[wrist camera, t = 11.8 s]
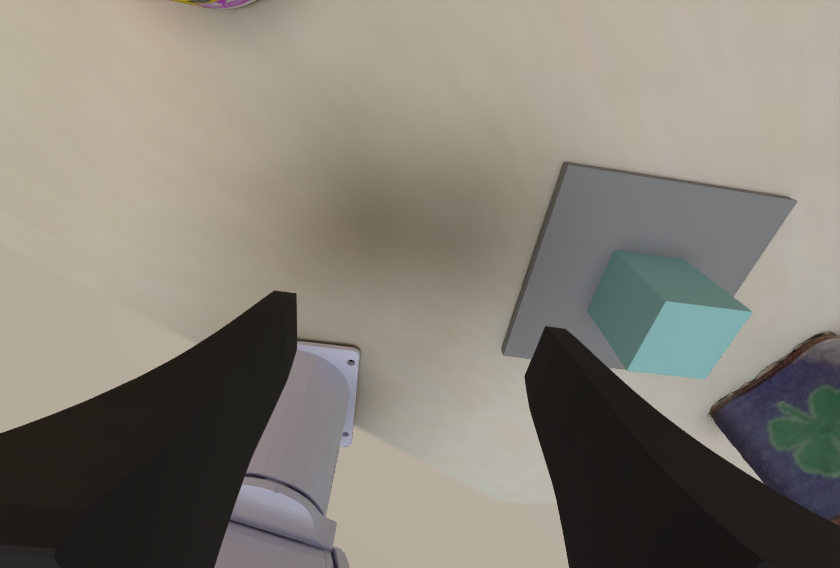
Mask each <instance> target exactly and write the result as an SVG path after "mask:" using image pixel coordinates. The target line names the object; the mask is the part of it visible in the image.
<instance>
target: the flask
mask: <svg viewBox="0 0 840 568" xmlns="http://www.w3.org/2000/svg"><path fill="white" fill-rule="evenodd" d="M794 349H795V350H796V351H795V352H792V353H791V354H789V355H787V356H786V357H784V358H783V359H780V360H779V361H778V362H775V363H773V364H772V365H770V366H768V367H766V368H765V370H763V371H761V372H760V374H759V375H758V376H757V378H756V379H755V380H754V381H753V382H750V383H744V385H743V386H742V387H741V389H739V390H738V391H736V392H733V393H729V395H728V396H727V397H726V398H725V399H722V400H721V401H719V402H716V403H714V404H713V406H712V408H711V410H710V413H709V414H708V415H712V417H713V419H714V421H715V423H716V425H717V426H718V427H719V428H720V430H721V431H722V432H723V433H724V434H725V436H726V437H727V438H728V440H729V441H730V442H731V444H732V445H733V446H734V447H735V448H736V449H737V450H738V451H739V453H740V454H741V456H742V457H743V459H744V460H745V461H746V462H747V463H748V464H749V465H750V467H751V468H752V469H753V470H754V471H755V473H756V474H757V475H758V476H759V477H760V479H761V480H762V482H763V483H764V484H765V485H766V486H768V487H770V488H772V489H773V490H775V491H777V492H778V493H780V494H782V495H784V496H785V497H787V498H789V499H791V500H792V501H794V502H796V503H798V504H799V505H801V506H803V507H805V508H806V509H808V510H810V511H812V512H814V513H816V514H818V515H819V516H821V517H823V518H825V519H827V520H829V521H831V522H833V523H835V524H837V525H839V526H840V337H839V336H837V335H833V334H830V333H827V332H826V333H824V334H822V336H819V337H817V338H813V339H809V340H807V341H806V342H804V343H802V344H800V345H798V346H797V347H795V348H794Z"/></svg>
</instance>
